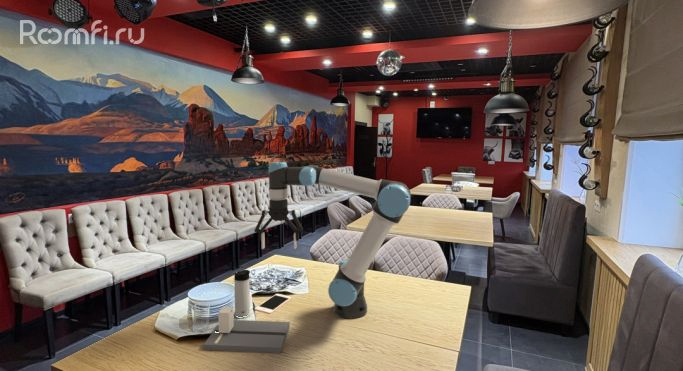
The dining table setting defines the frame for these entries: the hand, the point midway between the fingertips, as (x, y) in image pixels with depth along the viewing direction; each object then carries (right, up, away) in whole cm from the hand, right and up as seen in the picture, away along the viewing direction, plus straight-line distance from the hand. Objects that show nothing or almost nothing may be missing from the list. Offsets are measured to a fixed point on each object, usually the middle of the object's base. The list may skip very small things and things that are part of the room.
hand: (279, 248), depth 147 cm
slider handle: (-18, -32, -14) cm, 39 cm away
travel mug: (-17, -30, +3) cm, 34 cm away
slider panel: (-9, -32, -14) cm, 36 cm away
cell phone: (-5, -29, +15) cm, 33 cm away
